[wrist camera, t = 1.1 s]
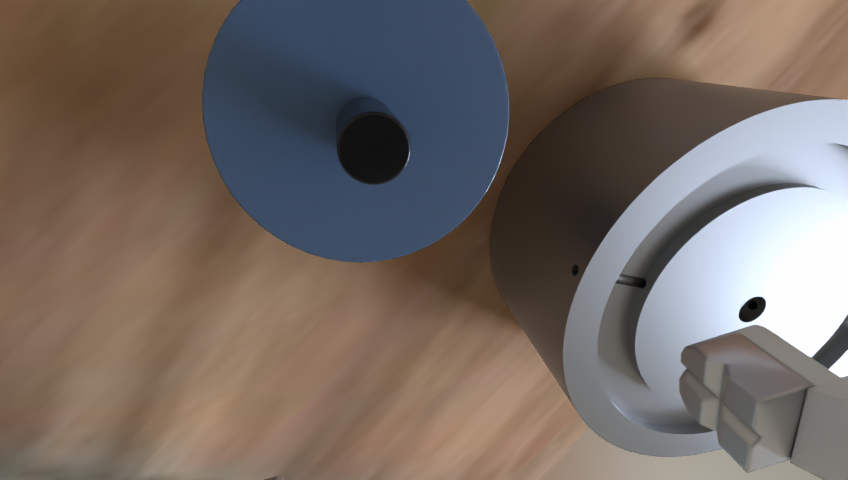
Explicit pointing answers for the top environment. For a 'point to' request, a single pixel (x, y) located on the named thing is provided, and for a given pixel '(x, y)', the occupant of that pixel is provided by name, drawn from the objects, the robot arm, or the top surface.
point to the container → (674, 243)
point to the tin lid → (356, 120)
